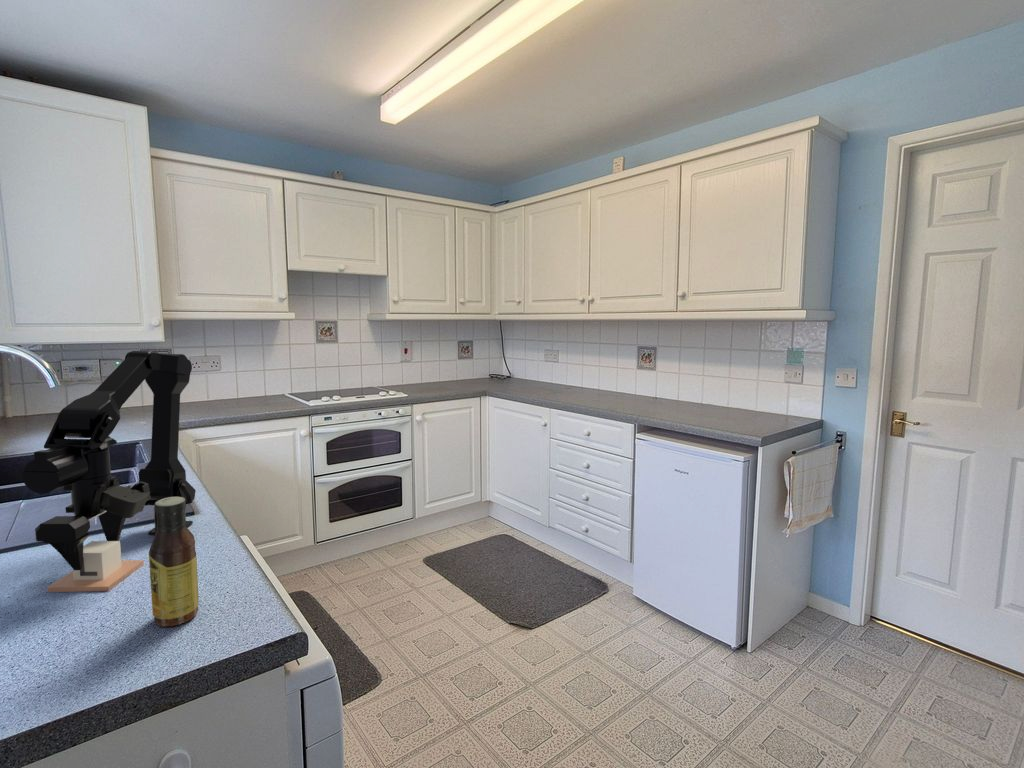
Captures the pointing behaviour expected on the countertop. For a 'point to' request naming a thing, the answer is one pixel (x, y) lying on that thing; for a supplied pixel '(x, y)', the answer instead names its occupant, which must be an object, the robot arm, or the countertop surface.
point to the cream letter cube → (99, 560)
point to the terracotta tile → (96, 585)
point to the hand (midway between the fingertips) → (96, 557)
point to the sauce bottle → (173, 565)
